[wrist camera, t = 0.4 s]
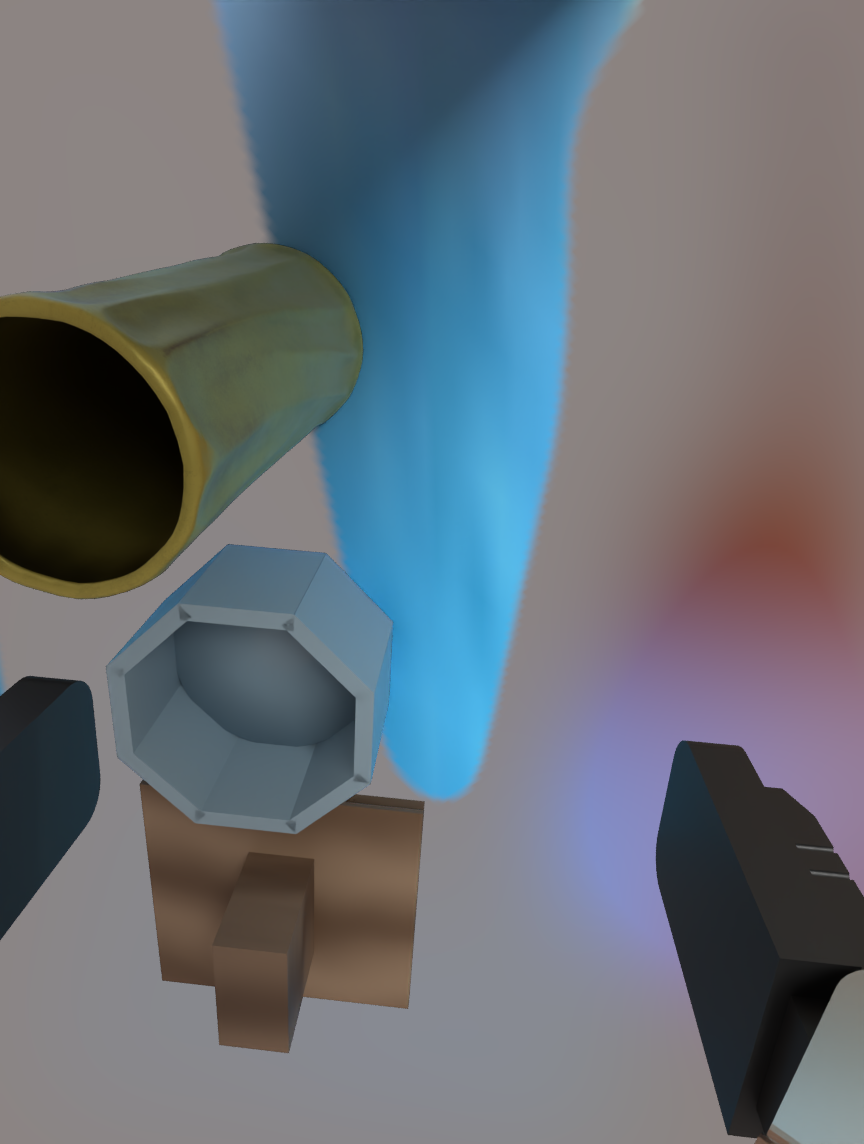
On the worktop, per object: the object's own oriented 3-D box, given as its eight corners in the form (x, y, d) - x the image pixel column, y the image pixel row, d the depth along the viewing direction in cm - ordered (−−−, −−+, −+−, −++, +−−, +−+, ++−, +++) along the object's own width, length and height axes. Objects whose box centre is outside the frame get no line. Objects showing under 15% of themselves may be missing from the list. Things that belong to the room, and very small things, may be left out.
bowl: (159, 537, 29) (96, 595, 25) (396, 559, 29) (377, 622, 24) (176, 733, 33) (124, 815, 28) (386, 755, 33) (368, 841, 28)
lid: (147, 772, 35) (84, 870, 29) (424, 801, 34) (411, 906, 29) (168, 966, 40) (118, 1080, 35) (409, 994, 39) (396, 1113, 34)
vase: (276, 466, 28) (80, 679, 15) (147, 332, 26) (-201, 438, 13) (401, 352, 26) (303, 482, 13) (270, 199, 24) (5, 169, 11)
